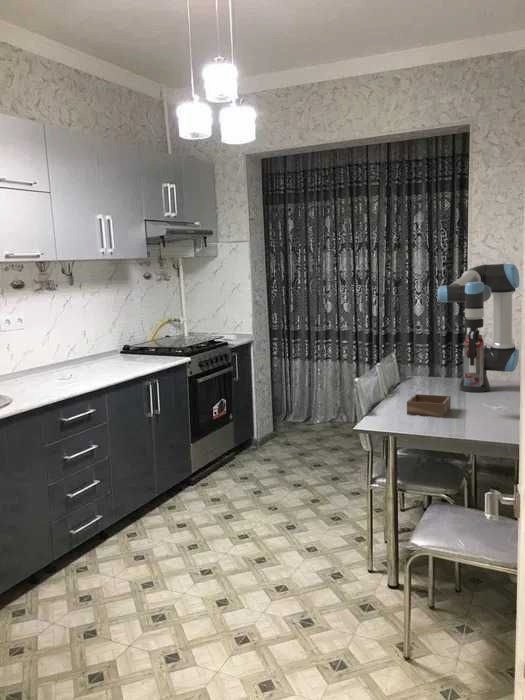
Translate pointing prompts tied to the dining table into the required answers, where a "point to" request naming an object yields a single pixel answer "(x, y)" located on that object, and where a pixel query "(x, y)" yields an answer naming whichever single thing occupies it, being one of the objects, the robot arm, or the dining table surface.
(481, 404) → the dining table surface
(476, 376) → the juice carton
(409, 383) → the dining table surface
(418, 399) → the walled box
